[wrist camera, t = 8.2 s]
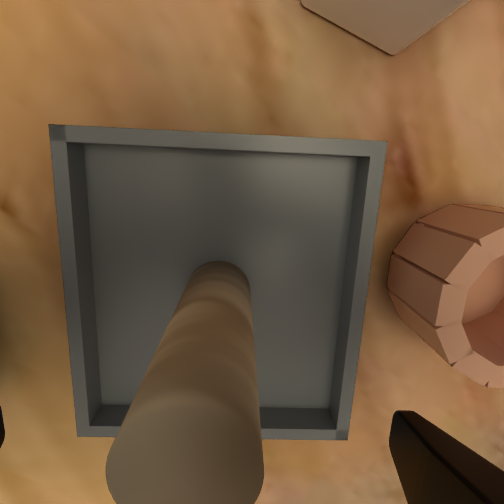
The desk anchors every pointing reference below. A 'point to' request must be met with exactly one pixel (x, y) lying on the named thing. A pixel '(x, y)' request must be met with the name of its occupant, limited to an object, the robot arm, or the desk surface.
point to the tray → (216, 249)
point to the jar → (386, 18)
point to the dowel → (196, 404)
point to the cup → (455, 287)
